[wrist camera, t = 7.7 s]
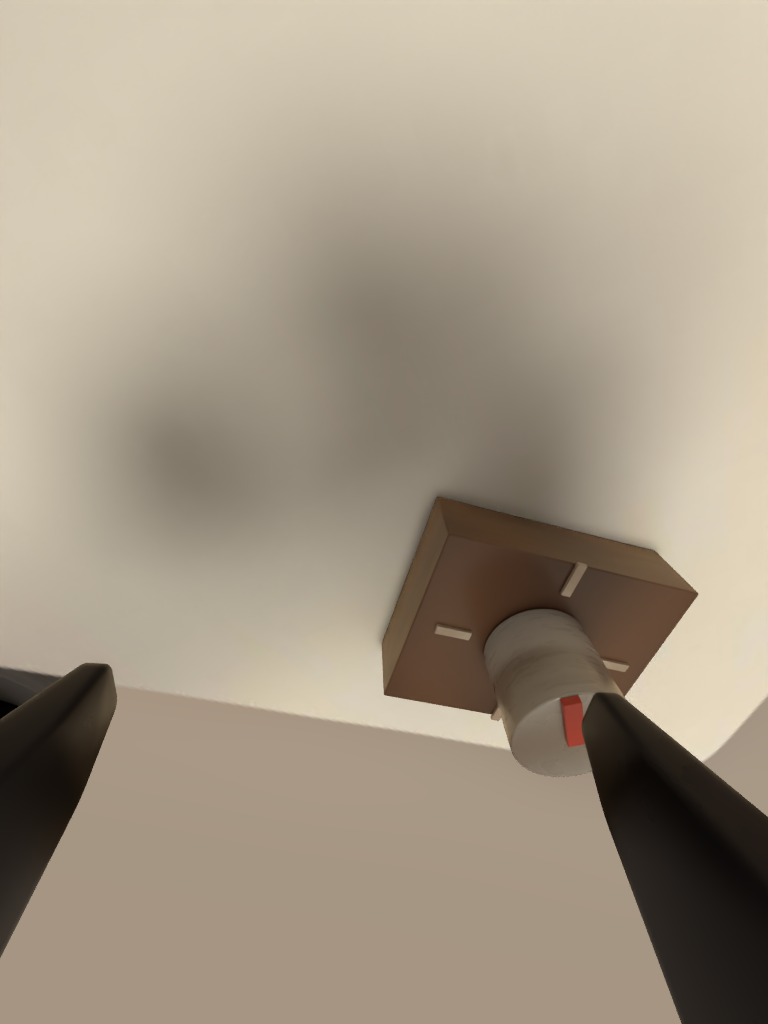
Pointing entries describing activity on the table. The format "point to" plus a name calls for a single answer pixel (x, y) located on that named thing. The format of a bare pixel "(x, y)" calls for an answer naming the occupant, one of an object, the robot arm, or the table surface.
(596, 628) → the panel
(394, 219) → the table surface
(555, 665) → the heat knob
